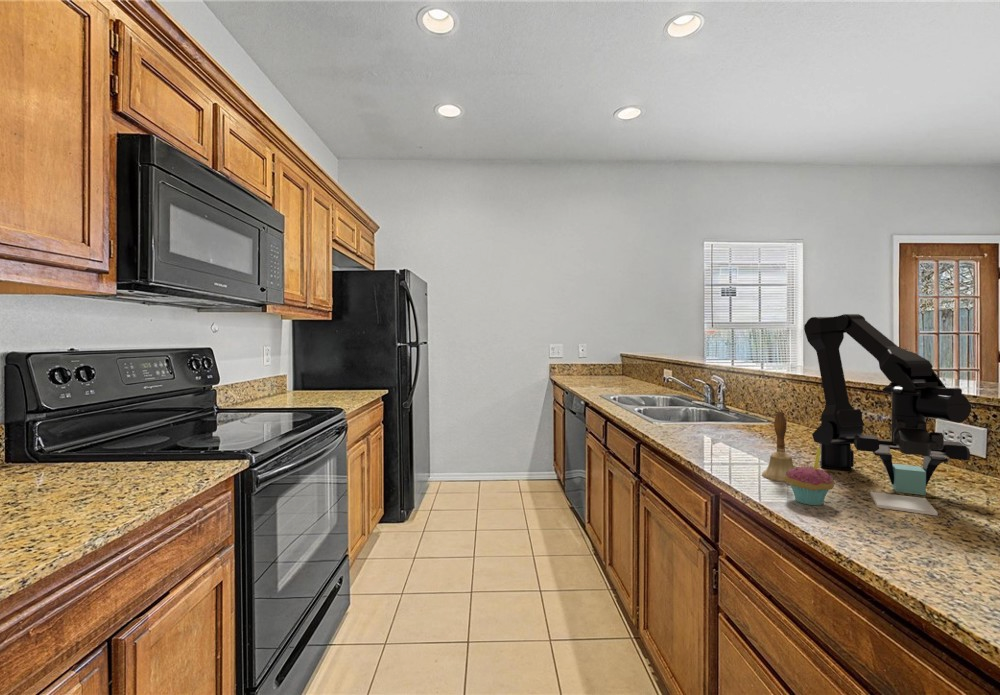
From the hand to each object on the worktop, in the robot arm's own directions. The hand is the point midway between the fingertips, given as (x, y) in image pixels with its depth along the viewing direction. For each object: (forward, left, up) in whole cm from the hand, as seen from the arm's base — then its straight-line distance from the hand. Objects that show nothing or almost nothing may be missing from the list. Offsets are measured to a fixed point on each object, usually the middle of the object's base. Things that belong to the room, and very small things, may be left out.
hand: (907, 485), depth 105 cm
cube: (0, 0, -1) cm, 1 cm away
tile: (-3, -12, -1) cm, 12 cm away
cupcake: (-19, -19, -1) cm, 27 cm away
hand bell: (-24, -2, -1) cm, 24 cm away
